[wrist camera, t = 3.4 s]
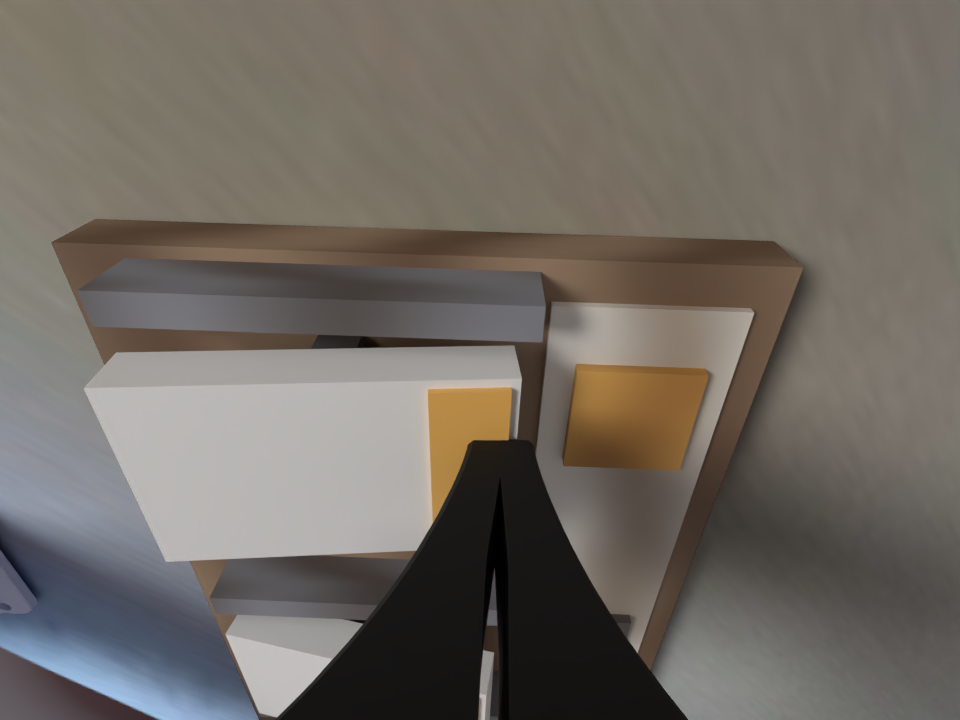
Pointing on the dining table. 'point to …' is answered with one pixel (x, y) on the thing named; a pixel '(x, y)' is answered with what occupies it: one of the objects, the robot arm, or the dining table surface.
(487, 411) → the rocker
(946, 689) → the dining table surface
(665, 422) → the switch board
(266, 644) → the rocker middle
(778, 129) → the dining table surface
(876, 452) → the dining table surface
